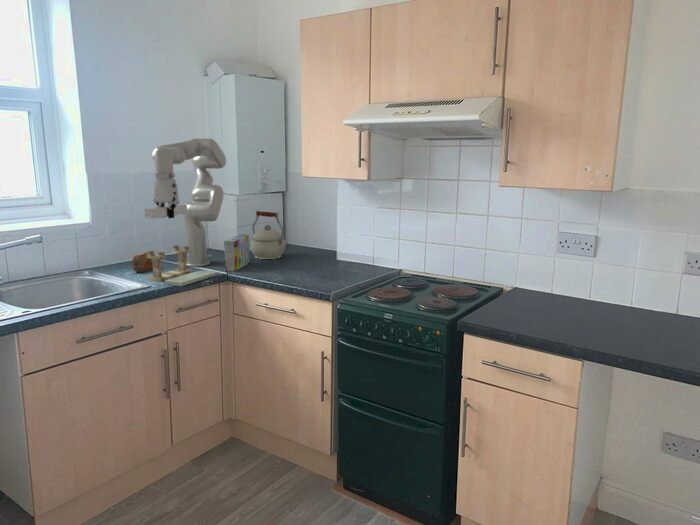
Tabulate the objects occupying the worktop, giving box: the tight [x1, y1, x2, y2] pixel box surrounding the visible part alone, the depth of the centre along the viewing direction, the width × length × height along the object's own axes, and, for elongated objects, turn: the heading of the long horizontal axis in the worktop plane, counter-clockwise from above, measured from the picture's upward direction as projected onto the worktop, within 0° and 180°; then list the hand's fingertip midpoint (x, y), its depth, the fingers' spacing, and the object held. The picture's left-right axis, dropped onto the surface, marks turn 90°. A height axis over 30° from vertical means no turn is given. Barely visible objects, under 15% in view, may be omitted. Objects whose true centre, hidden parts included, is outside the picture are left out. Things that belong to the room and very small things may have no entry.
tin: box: [131, 251, 153, 273], centre depth 260 cm, size 15×3×8 cm, turn 168°
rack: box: [146, 244, 192, 283], centre depth 247 cm, size 20×7×13 cm, turn 156°
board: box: [164, 269, 218, 287], centre depth 243 cm, size 24×9×2 cm, turn 156°
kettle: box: [250, 210, 289, 260], centre depth 292 cm, size 25×18×25 cm
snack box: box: [223, 233, 251, 272], centre depth 269 cm, size 21×6×15 cm, turn 171°
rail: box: [144, 204, 187, 220], centre depth 242 cm, size 22×4×4 cm, turn 156°
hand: (167, 217), depth 243 cm, fingers closed on rail, 4 cm apart
